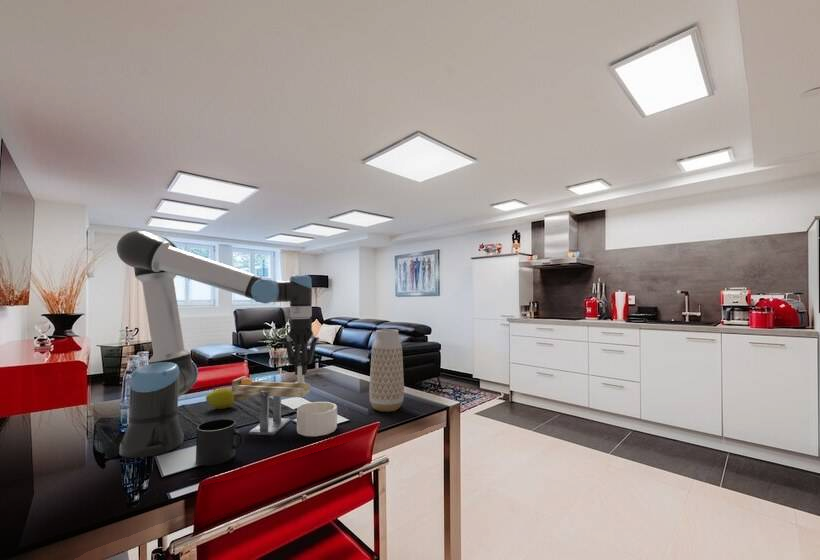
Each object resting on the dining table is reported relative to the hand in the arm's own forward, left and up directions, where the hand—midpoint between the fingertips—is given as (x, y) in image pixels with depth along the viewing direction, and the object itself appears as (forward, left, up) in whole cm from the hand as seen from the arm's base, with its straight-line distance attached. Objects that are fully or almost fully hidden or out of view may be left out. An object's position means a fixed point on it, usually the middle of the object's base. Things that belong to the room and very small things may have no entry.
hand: (300, 383), depth 127 cm
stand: (-7, -8, -13) cm, 17 cm away
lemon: (-35, +9, -13) cm, 39 cm away
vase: (+29, +16, -13) cm, 36 cm away
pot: (+9, -8, -13) cm, 17 cm away
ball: (-16, -8, +2) cm, 18 cm away
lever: (-7, -4, -4) cm, 9 cm away
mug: (-10, -31, -13) cm, 35 cm away
